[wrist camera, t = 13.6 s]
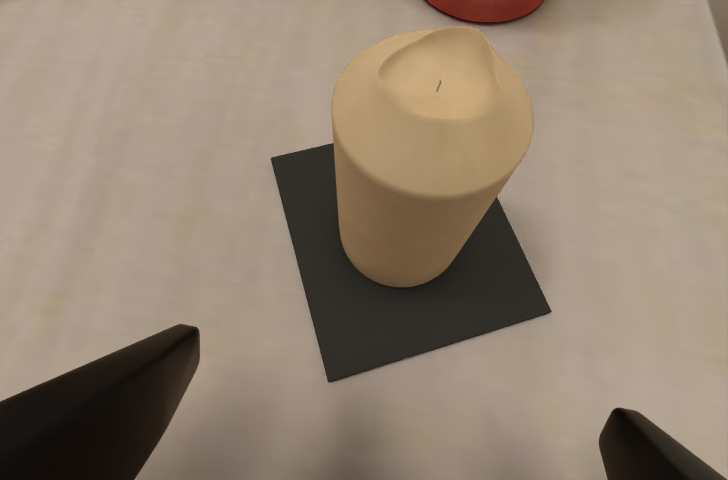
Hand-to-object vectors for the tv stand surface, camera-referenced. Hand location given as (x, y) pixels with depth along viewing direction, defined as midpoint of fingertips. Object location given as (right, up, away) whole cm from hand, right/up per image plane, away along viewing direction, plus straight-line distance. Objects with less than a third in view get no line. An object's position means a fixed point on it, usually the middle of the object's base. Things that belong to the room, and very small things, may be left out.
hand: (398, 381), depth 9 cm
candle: (+1, +3, +10) cm, 11 cm away
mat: (+1, +3, +11) cm, 11 cm away
